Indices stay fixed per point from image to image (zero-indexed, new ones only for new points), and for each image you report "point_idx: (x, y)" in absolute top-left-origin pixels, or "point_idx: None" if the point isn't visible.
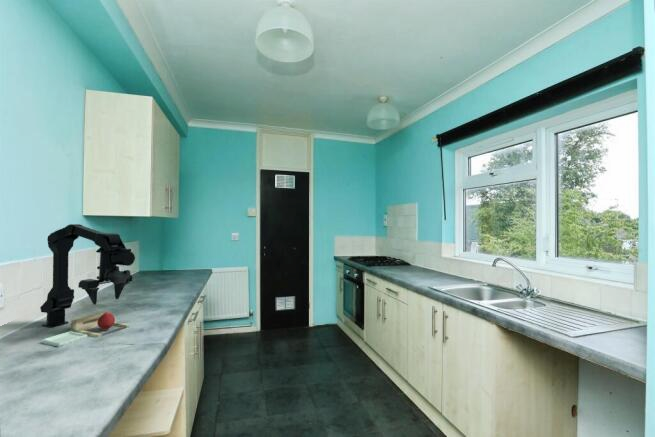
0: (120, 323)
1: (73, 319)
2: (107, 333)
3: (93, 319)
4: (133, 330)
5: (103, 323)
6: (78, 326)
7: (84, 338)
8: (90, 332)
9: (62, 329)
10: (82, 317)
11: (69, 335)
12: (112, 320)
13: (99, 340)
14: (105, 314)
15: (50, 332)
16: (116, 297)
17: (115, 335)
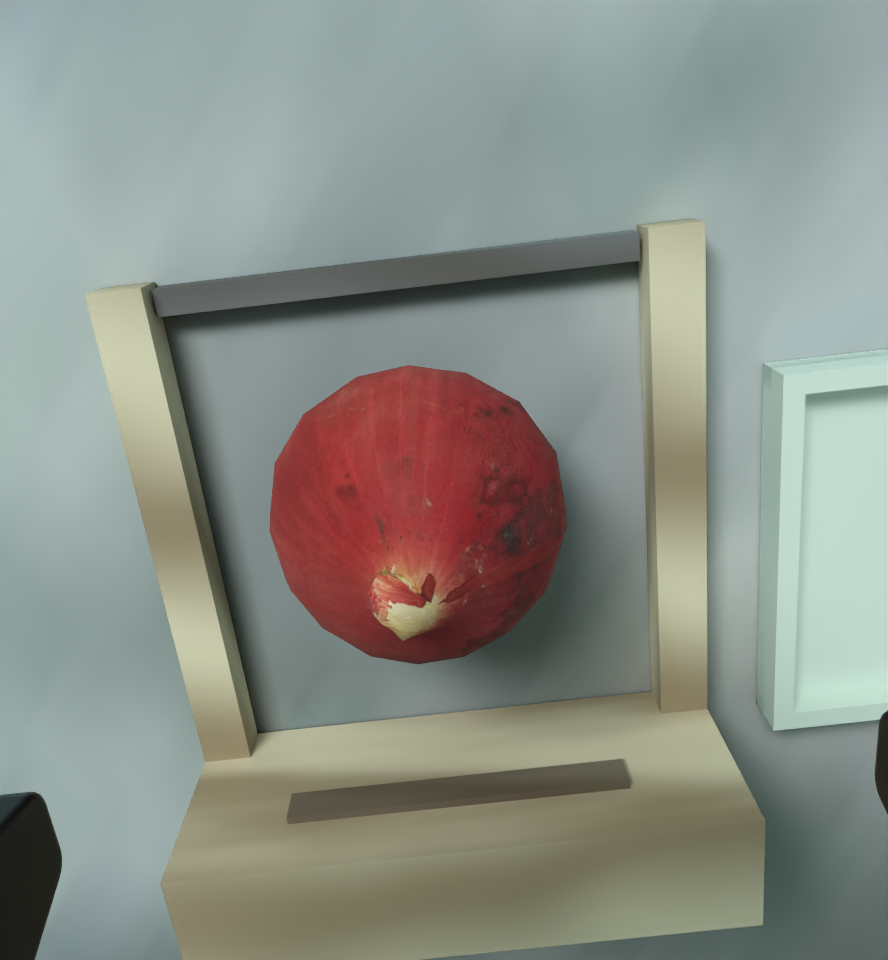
0: (154, 484)
1: (741, 908)
2: (520, 243)
3: (457, 799)
4: (152, 6)
5: (528, 422)
6: (688, 746)
7: (804, 359)
8: (674, 456)
9: (671, 937)
10: (603, 905)
11: (838, 621)
12: (370, 389)
13: (773, 43)
14: (464, 551)
15: (798, 937)
16: (25, 880)
17: (490, 43)
